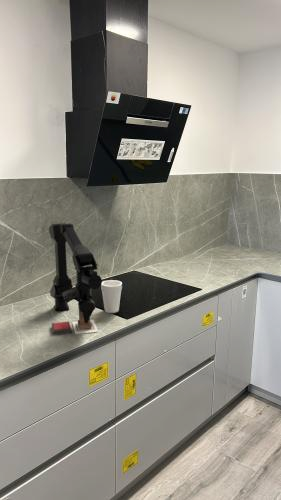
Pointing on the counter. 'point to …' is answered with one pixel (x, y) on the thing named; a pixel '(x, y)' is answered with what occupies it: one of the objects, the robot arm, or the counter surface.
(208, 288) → the counter surface
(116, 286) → the foam cup
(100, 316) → the counter surface
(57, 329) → the ink pad
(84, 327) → the stamp
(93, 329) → the paper sheet
